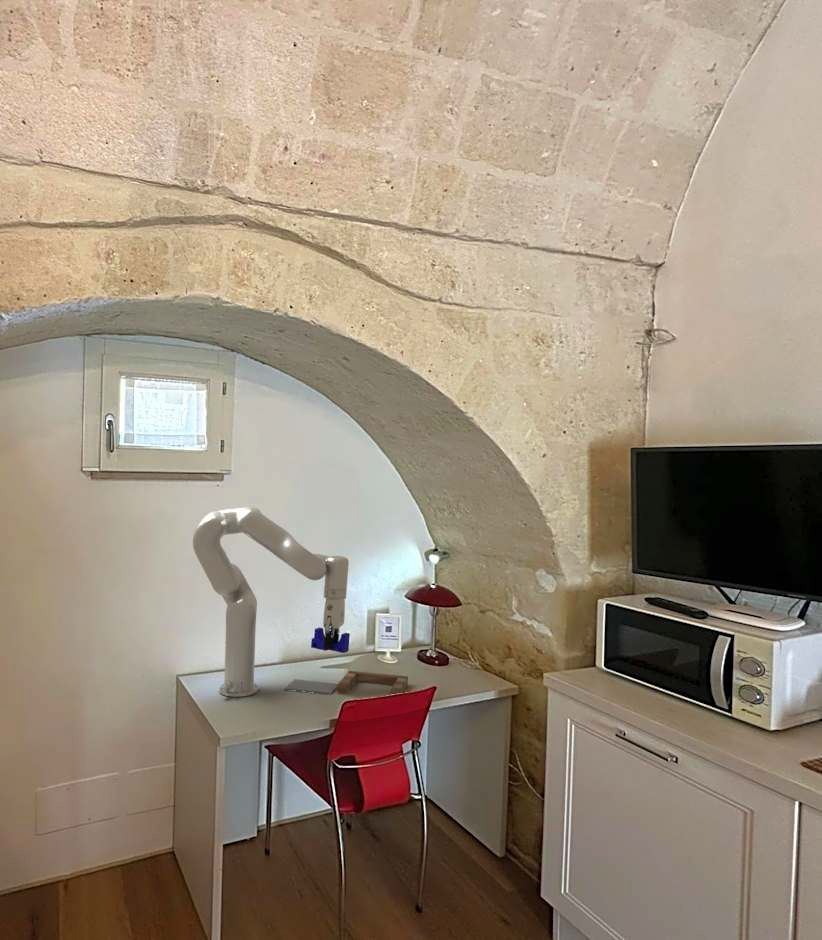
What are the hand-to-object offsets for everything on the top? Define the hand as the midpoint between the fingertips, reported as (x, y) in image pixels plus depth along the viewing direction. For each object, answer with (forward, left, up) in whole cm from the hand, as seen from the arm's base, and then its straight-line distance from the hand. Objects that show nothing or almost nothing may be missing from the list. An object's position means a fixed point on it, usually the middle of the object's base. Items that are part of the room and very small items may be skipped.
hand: (331, 646), depth 245 cm
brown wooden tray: (+4, -14, -15) cm, 21 cm away
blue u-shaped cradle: (0, 0, -1) cm, 1 cm away
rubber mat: (0, +6, -14) cm, 16 cm away
